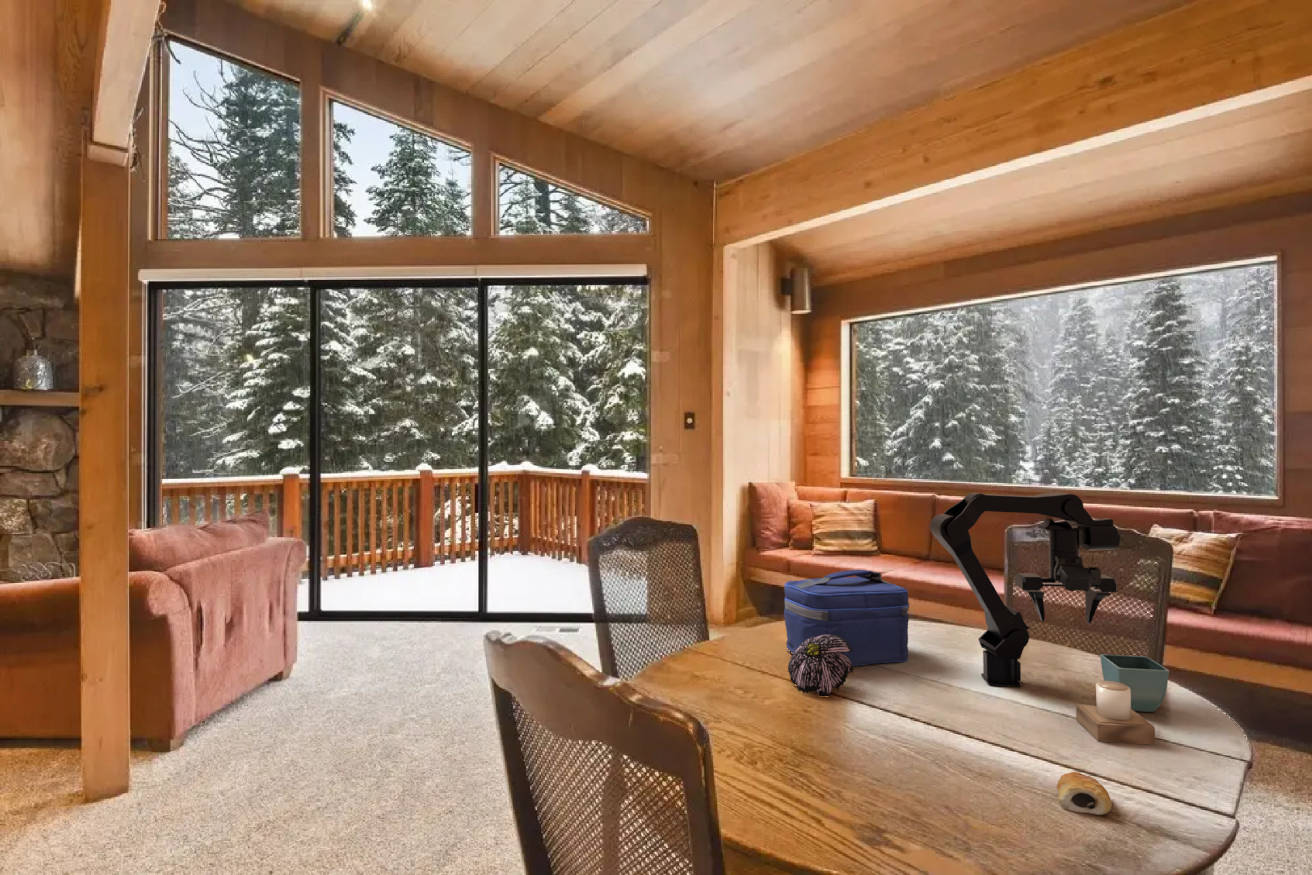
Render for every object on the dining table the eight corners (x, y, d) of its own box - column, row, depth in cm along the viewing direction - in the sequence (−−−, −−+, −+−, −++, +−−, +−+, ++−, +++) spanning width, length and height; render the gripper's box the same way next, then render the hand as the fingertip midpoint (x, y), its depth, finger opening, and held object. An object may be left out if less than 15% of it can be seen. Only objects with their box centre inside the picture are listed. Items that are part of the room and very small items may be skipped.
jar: (1091, 708, 127) (1090, 679, 127) (1122, 709, 126) (1121, 680, 126) (1104, 719, 121) (1103, 689, 122) (1137, 720, 121) (1136, 690, 121)
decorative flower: (768, 639, 151) (822, 613, 156) (773, 681, 155) (826, 653, 161) (810, 676, 138) (867, 646, 144) (814, 721, 143) (870, 689, 148)
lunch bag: (881, 637, 185) (879, 561, 185) (931, 660, 165) (929, 575, 165) (775, 647, 177) (774, 568, 178) (814, 674, 157) (812, 584, 157)
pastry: (1055, 781, 107) (1054, 756, 107) (1106, 791, 104) (1106, 766, 104) (1058, 810, 99) (1057, 783, 99) (1114, 822, 95) (1114, 794, 95)
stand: (1097, 741, 120) (1097, 723, 120) (1076, 720, 129) (1076, 703, 129) (1155, 744, 118) (1154, 726, 118) (1129, 723, 127) (1129, 706, 127)
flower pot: (1171, 717, 129) (1170, 670, 129) (1119, 714, 131) (1118, 667, 131) (1148, 700, 138) (1147, 655, 138) (1099, 697, 140) (1098, 653, 140)
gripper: (1030, 555, 143) (1032, 630, 143) (1129, 557, 140) (1131, 633, 140) (1013, 547, 154) (1014, 616, 154) (1104, 548, 151) (1106, 619, 151)
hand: (1065, 621), depth 149 cm, fingers open, 9 cm apart
